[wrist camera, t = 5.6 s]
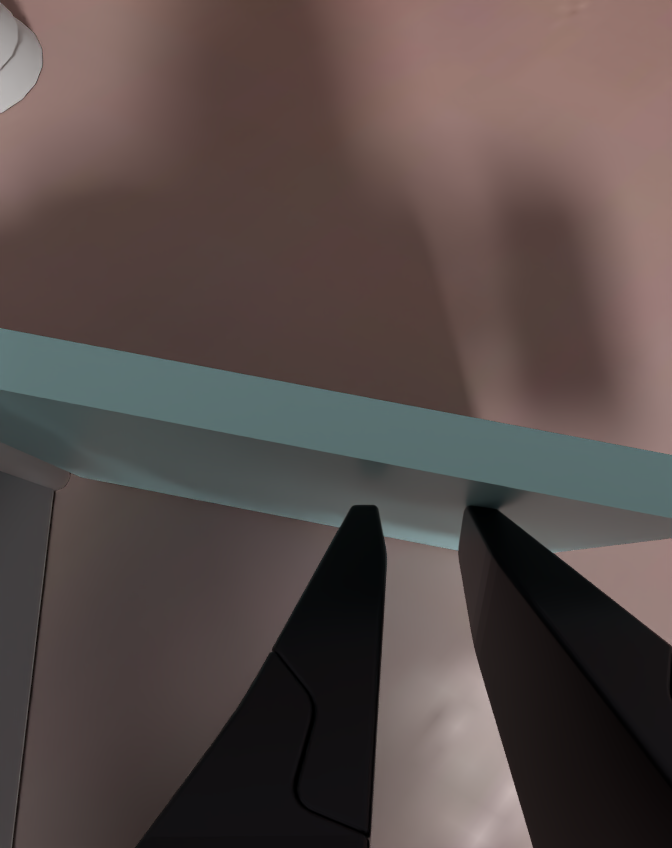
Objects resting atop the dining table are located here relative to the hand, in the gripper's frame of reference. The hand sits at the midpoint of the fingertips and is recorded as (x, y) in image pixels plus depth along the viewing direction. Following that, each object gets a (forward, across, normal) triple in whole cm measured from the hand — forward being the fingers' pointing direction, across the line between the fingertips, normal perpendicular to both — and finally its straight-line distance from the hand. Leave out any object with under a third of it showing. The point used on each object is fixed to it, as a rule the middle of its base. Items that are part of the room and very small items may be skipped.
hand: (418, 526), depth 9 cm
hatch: (+6, +2, +3) cm, 7 cm away
